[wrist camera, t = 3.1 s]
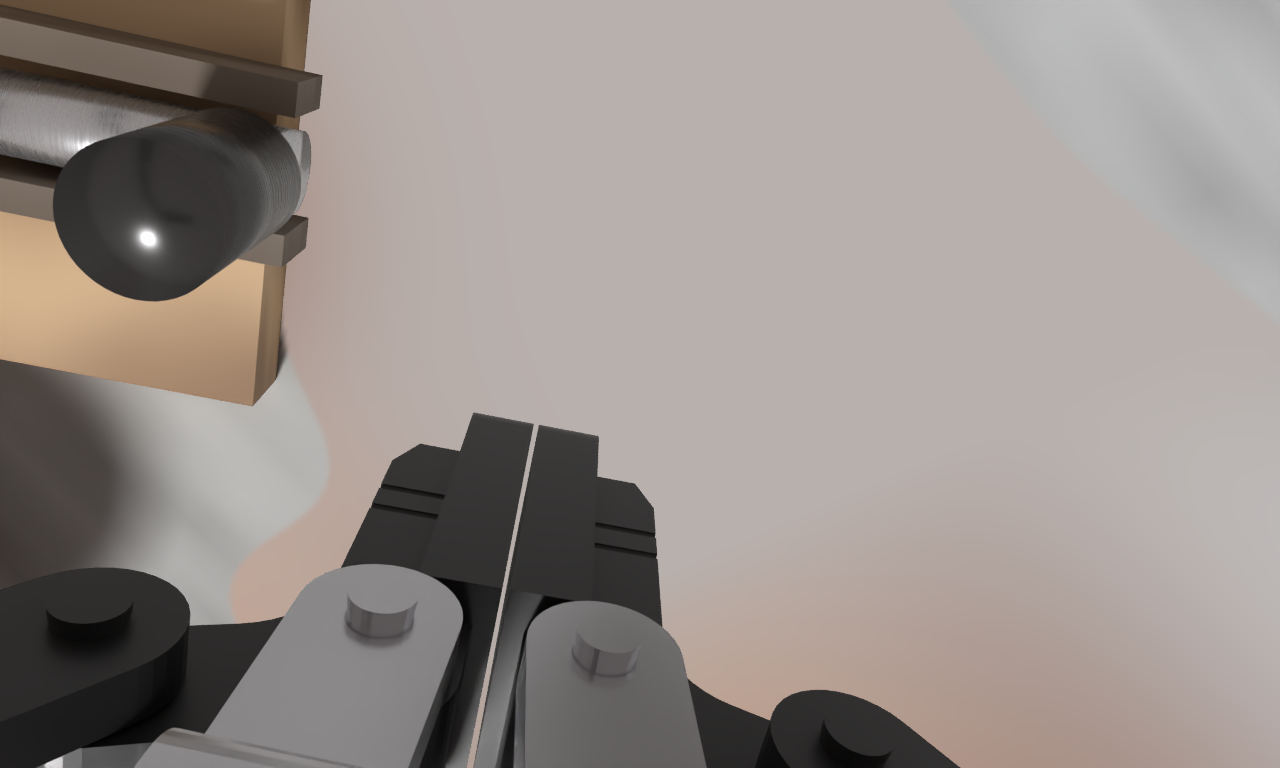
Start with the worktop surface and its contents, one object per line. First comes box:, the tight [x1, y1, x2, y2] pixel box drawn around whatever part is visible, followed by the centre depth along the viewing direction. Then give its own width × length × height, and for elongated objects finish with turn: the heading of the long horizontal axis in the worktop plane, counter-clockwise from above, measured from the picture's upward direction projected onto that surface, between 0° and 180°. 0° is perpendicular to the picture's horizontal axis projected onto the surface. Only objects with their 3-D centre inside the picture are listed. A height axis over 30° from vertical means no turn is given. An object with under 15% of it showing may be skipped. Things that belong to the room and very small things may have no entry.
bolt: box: [0, 66, 311, 302], centre depth 21 cm, size 3×10×7 cm, turn 78°
